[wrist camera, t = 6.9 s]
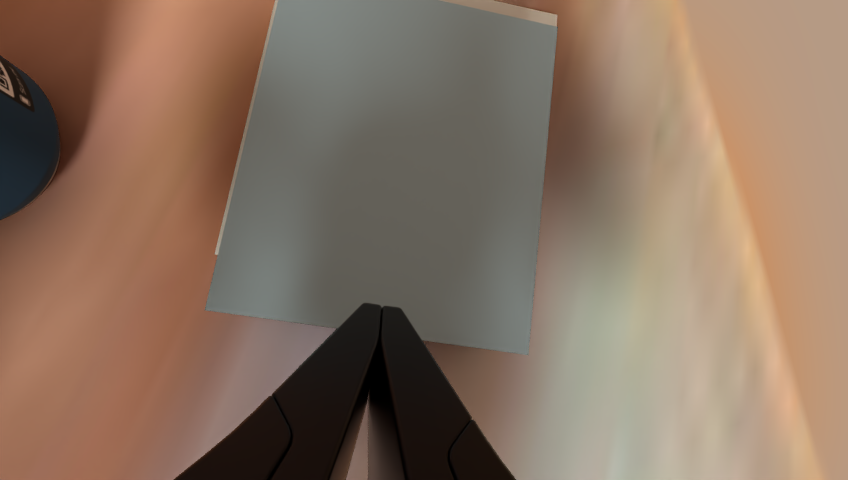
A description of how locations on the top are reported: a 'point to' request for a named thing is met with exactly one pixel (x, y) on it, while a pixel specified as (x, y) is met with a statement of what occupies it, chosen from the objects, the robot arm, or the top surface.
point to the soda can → (24, 140)
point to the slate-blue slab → (393, 170)
